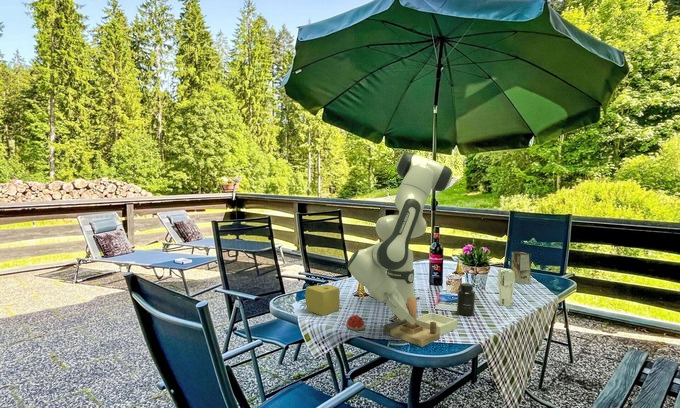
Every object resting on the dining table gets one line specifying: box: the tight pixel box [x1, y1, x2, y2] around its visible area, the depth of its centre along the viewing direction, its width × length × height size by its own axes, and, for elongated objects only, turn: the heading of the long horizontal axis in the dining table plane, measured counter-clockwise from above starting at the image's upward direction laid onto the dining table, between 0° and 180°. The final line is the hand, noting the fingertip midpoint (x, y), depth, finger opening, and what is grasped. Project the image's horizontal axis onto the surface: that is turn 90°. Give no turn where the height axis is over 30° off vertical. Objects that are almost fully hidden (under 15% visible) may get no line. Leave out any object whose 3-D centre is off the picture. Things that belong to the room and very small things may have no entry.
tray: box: [416, 311, 458, 337], centre depth 143 cm, size 11×11×3 cm
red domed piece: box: [346, 314, 366, 331], centre depth 144 cm, size 7×10×4 cm
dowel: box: [406, 297, 418, 329], centre depth 135 cm, size 3×3×11 cm
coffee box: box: [510, 251, 532, 285], centre depth 212 cm, size 9×6×16 cm
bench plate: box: [382, 319, 440, 348], centre depth 135 cm, size 16×12×6 cm
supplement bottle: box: [456, 282, 476, 317], centre depth 159 cm, size 7×7×12 cm
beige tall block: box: [497, 268, 516, 307], centre depth 172 cm, size 7×7×15 cm
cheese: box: [304, 284, 341, 317], centre depth 161 cm, size 10×11×10 cm
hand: (412, 318), depth 135 cm, fingers open, 8 cm apart
